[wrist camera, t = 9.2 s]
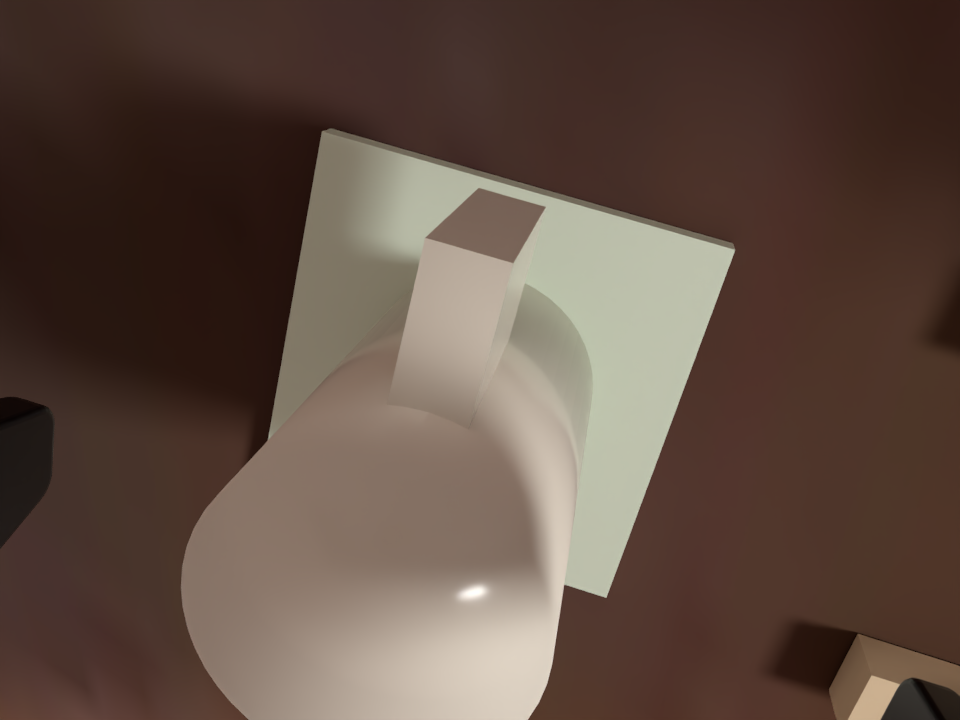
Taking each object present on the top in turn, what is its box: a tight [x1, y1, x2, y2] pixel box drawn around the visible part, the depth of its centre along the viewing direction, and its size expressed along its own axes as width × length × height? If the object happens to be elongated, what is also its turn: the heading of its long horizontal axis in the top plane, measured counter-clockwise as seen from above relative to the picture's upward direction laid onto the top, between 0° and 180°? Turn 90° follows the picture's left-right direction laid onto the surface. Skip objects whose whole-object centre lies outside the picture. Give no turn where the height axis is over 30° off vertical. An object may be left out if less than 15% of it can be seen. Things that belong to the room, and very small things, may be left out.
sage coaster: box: [268, 129, 735, 598], centre depth 21 cm, size 9×9×1 cm
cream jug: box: [181, 188, 593, 720], centre depth 16 cm, size 8×5×9 cm
